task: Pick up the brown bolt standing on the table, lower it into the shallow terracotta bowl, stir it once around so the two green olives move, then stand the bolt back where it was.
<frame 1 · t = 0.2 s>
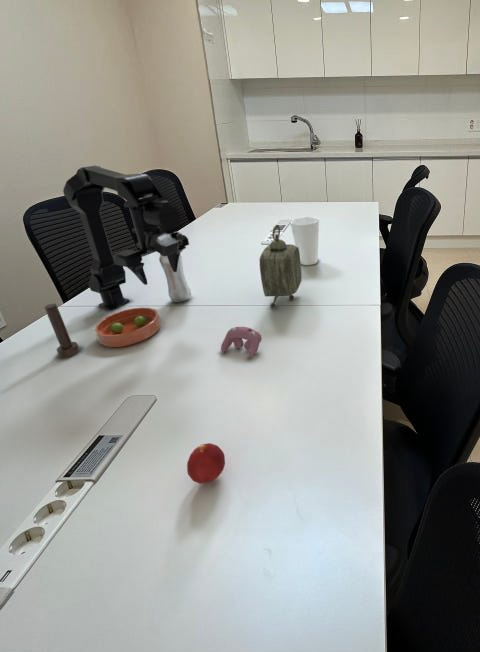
hand: (160, 277, 108), 15 cm above the table, tool pointing down, fingers open, 9 cm apart
onion: (210, 479, 66), on the table
cup: (308, 262, 155), on the table
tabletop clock: (286, 300, 125), on the table
olive b: (116, 328, 108), point 2 cm above the table, touching bowl
video game controller: (243, 350, 100), on the table
bowl: (131, 333, 109), on the table
olive a: (140, 321, 111), point 2 cm above the table, touching bowl
brown bolt: (69, 352, 101), on the table
plastic bottle: (181, 300, 127), on the table
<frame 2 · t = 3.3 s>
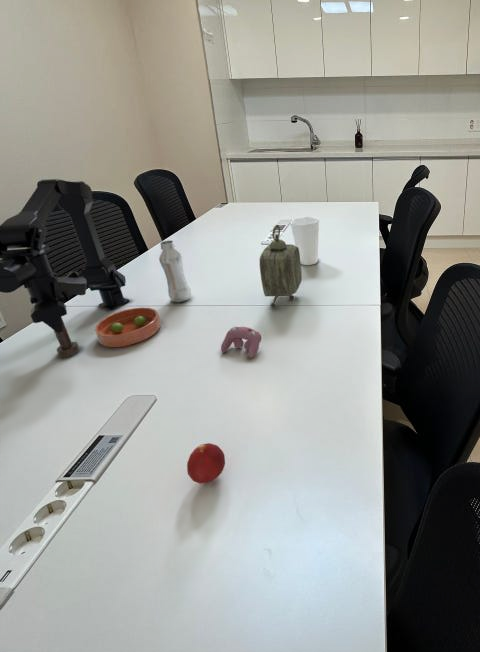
hand: (60, 329, 98), 7 cm above the table, tool pointing down, fingers closed on brown bolt, 2 cm apart
brown bolt: (69, 352, 101), on the table, touching gripper
everything else where it was.
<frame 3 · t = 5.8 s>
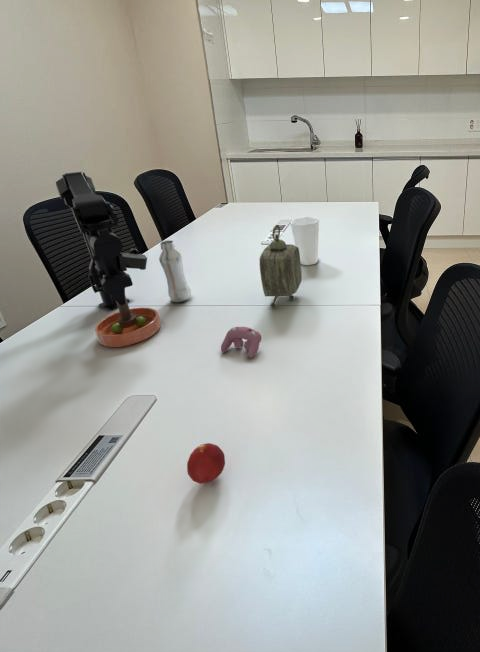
hand: (122, 303, 105), 10 cm above the table, tool pointing down, fingers closed on brown bolt, 2 cm apart
olive b: (117, 328, 108), point 2 cm above the table, tilted 7°, touching bowl, brown bolt
olive a: (140, 321, 111), point 2 cm above the table, tilted 5°, touching bowl, brown bolt
brown bolt: (128, 323, 108), point 3 cm above the table, touching gripper, olive a, olive b
everything else where it was.
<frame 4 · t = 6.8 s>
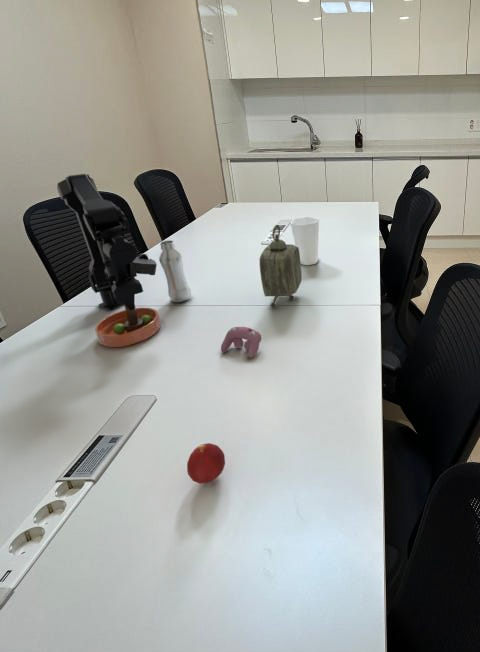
hand: (131, 307, 106), 8 cm above the table, tool pointing down, fingers closed on brown bolt, 2 cm apart
olive b: (119, 328, 107), point 2 cm above the table, tilted 39°, touching bowl
olive a: (146, 320, 111), point 2 cm above the table, tilted 53°, touching bowl, brown bolt
brown bolt: (134, 328, 109), point 1 cm above the table, tilted 6°, touching gripper, olive a
everything else where it was.
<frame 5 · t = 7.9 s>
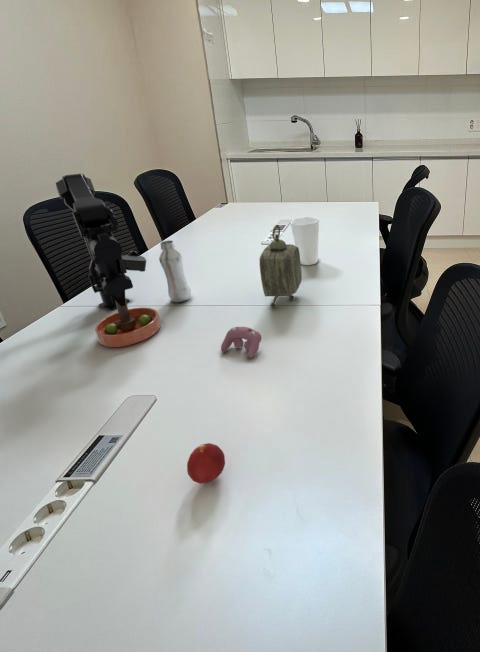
hand: (122, 304, 107), 8 cm above the table, tool pointing down, fingers closed on brown bolt, 2 cm apart
olive b: (111, 328, 107), point 2 cm above the table, tilted 46°, touching bowl, brown bolt
olive a: (144, 319, 112), point 2 cm above the table, tilted 42°, touching bowl
brown bolt: (127, 327, 109), point 2 cm above the table, tilted 7°, touching gripper, olive b
everything else where it was.
when the fingers open (7 cm above the table, at t = 13.2 s): brown bolt stays where it is, on the table.
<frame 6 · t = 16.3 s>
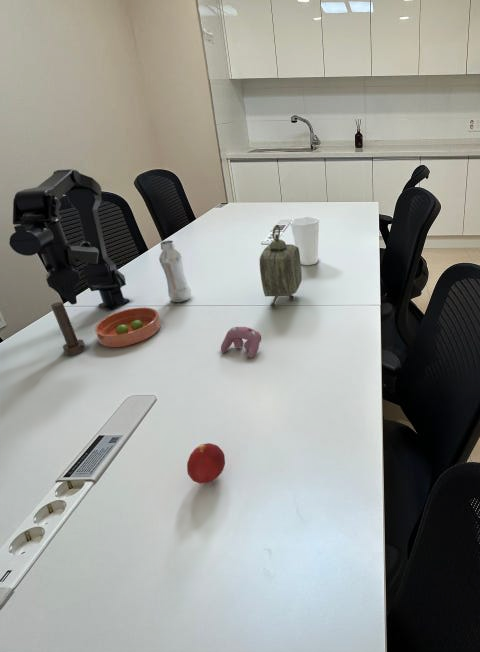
hand: (73, 297, 102), 13 cm above the table, tool pointing down, fingers open, 9 cm apart
olive b: (122, 330, 107), point 2 cm above the table, tilted 59°, touching bowl
olive a: (137, 325, 109), point 2 cm above the table, tilted 102°, touching bowl
brown bolt: (75, 350, 102), on the table
everything else where it was.
at the end: olive a moved 2.4 cm from its start; olive a inside the target area in the bowl (1.9 cm from its centre), point 2.1 cm above the bowl's base; brown bolt inside the target area (1.4 cm from its centre), on the table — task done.
